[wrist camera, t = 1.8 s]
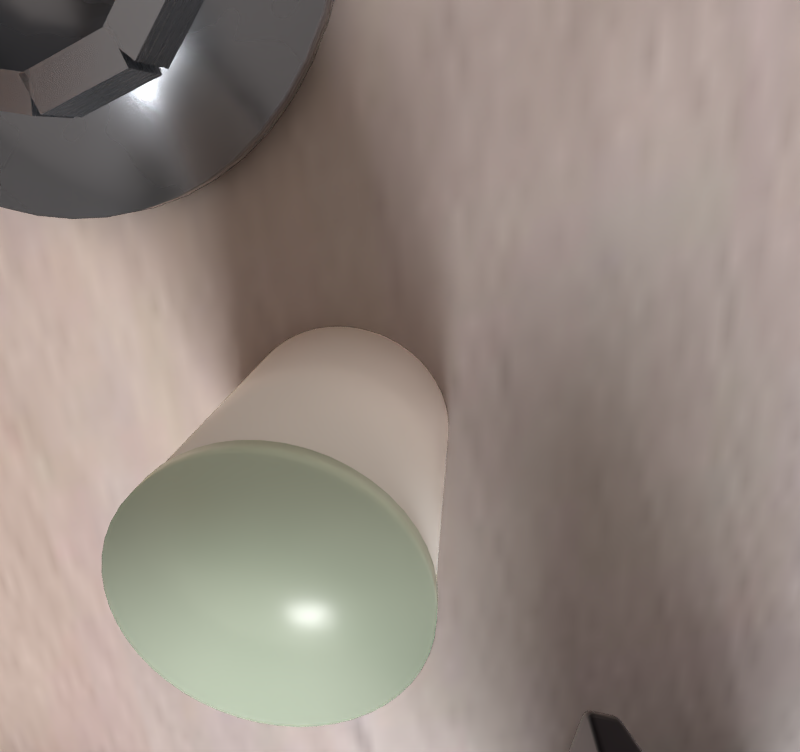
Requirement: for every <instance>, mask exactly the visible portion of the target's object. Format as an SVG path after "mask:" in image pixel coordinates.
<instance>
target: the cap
mask: <svg viewBox="0 0 800 752" xmlns="http://www.w3.org/2000/svg"><path fill="white" fill-rule="evenodd" d="M448 433H449V427H448V415H447V409H446V405H445V402H444V399H443V396H442V393H441V391H440V389H439V387H438V385H437V383H436V381H435V380H434V378H433V377H432V375H431V374H430V372H429V371H428V369H427V368H426V367H425V366H424V365H423V364H422V363H421V361H420V360H419V359H417V358H416V357H415V356H414V355H413V354H412V353H411V352H410V351H408V350H407V349H405V348H404V347H402V346H401V345H400V344H398V343H396V342H395V341H393V340H391V339H389V338H387V337H385V336H382V335H380V334H377V333H374V332H372V331H368V330H363V329H359V328H352V327H343V326H342V327H324V328H317V329H313V330H310V331H306V332H303V333H300V334H298V335H296V336H294V337H291V338H289V339H288V340H286V341H285V342H283V343H282V344H280V345H279V346H277V347H276V348H275V349H274V350H273V351H272V352H271V353H269V354H268V356H267V357H266V358H265V359H264V360H263V361H262V362H261V363H260V364H259V365H258V366H257V367H256V368H255V369H254V370H253V371H252V372H251V373H250V374H249V375H248V376H247V377H246V379H245V380H244V381H243V382H242V383H241V384H240V385H239V386H238V387H237V388H236V389H235V390H234V391H233V392H232V393H231V394H230V395H229V396H228V397H227V398H226V399H225V400H224V402H223V403H222V404H221V405H220V406H219V407H218V408H217V409H216V410H215V411H214V412H213V413H212V414H211V415H210V416H209V417H208V418H207V419H206V420H205V421H204V422H203V424H202V425H201V426H200V427H199V428H198V429H197V430H196V431H195V432H194V433H193V434H192V435H191V436H190V437H189V438H188V439H187V440H186V441H185V442H184V443H183V444H182V445H181V447H180V448H179V449H178V450H177V451H176V452H175V453H174V454H173V455H172V456H171V457H170V458H169V459H168V460H167V461H166V462H165V463H164V464H162V465H160V466H159V467H158V468H157V469H156V470H154V471H153V472H152V473H151V474H150V475H148V476H147V477H146V478H145V479H144V480H143V481H142V482H141V483H140V484H139V485H138V486H137V487H136V488H135V489H134V490H133V491H132V493H131V494H130V495H129V496H128V497H127V498H126V500H125V501H124V502H123V503H122V504H121V506H120V507H119V509H118V510H117V512H116V514H115V515H114V517H113V519H112V521H111V523H110V525H109V528H108V531H107V534H106V536H105V540H104V546H103V551H102V578H103V584H104V590H105V594H106V597H107V600H108V604H109V607H110V609H111V611H112V613H113V616H114V618H115V620H116V622H117V624H118V626H119V627H120V629H121V631H122V632H123V634H124V636H125V637H126V639H127V640H128V642H129V643H130V644H131V645H132V647H133V648H134V649H135V651H136V652H137V653H138V654H139V655H140V656H141V657H142V659H143V660H144V661H145V662H146V663H147V664H148V665H149V666H150V667H151V668H152V669H153V670H155V671H156V672H157V673H158V674H159V675H160V676H162V677H163V678H164V679H165V680H166V681H168V682H169V683H171V684H172V685H173V686H175V687H176V688H178V689H179V690H181V691H182V692H184V693H185V694H187V695H189V696H191V697H192V698H194V699H196V700H198V701H199V702H201V703H203V704H206V705H208V706H210V707H212V708H214V709H217V710H219V711H221V712H224V713H227V714H230V715H233V716H236V717H239V718H242V719H246V720H250V721H254V722H258V723H265V724H271V725H277V726H291V727H309V726H322V725H330V724H336V723H340V722H344V721H348V720H352V719H355V718H358V717H361V716H363V715H366V714H369V713H371V712H373V711H375V710H377V709H378V708H380V707H382V706H384V705H386V704H387V703H389V702H390V701H391V700H393V699H394V698H396V697H397V696H398V695H400V694H401V693H402V692H403V691H404V690H405V689H406V688H407V687H408V686H409V685H410V684H411V683H412V682H413V680H414V679H415V678H416V676H417V675H418V674H419V672H420V671H421V670H422V668H423V666H424V664H425V662H426V660H427V658H428V656H429V654H430V651H431V648H432V644H433V641H434V638H435V630H436V622H437V610H438V584H437V568H438V556H439V543H440V531H441V519H442V506H443V494H444V482H445V470H446V457H447V445H448Z"/></svg>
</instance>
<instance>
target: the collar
mask: <svg viewBox="0 0 800 752" xmlns="http://www.w3.org/2000/svg"><path fill="white" fill-rule="evenodd" d="M333 2H334V0H0V207H3V208H7V209H12V210H16V211H20V212H25V213H29V214H33V215H37V216H48V217H58V218H68V219H81V218H102V217H111V216H116V215H121V214H126V213H131V212H136V211H141V210H145V209H150V208H155V207H158V206H160V205H163V204H166V203H169V202H171V201H174V200H177V199H180V198H182V197H185V196H187V195H189V194H191V193H193V192H194V191H196V190H198V189H200V188H202V187H203V186H205V185H207V184H209V183H211V182H212V181H214V180H216V179H217V178H219V177H220V176H221V175H222V174H224V173H225V172H226V171H228V170H229V169H230V168H232V167H233V166H234V165H235V164H237V163H238V162H239V161H241V160H242V159H243V158H244V157H245V156H246V155H247V154H248V153H249V152H250V151H251V150H252V149H253V148H254V147H255V146H256V145H257V144H258V143H259V142H260V141H261V140H262V139H263V138H264V136H265V135H266V134H267V133H268V132H269V131H270V130H271V128H272V127H273V126H274V124H275V123H276V122H277V120H278V119H279V117H280V116H281V115H282V113H283V112H284V111H285V109H286V108H287V106H288V105H289V104H290V102H291V101H292V99H293V98H294V96H295V94H296V92H297V90H298V88H299V86H300V85H301V83H302V81H303V79H304V77H305V75H306V73H307V72H308V70H309V68H310V66H311V64H312V62H313V60H314V57H315V55H316V52H317V49H318V47H319V44H320V42H321V39H322V36H323V34H324V31H325V29H326V26H327V24H328V21H329V17H330V14H331V10H332V6H333Z"/></svg>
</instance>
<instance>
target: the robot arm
mask: <svg viewBox="0 0 800 752" xmlns="http://www.w3.org/2000/svg"><path fill="white" fill-rule="evenodd" d="M569 752H642V750H641V749H640V748H639V746H638V745H637V743H636V742H635V740H634V739H633V737H632V736H631V735H630V733H629V732H628V730H627V729H626V727H625V726H624V724H623V723H622V722H621V721H620V720H619V719H618V718H617V717H615V716H613V715H609V714H604V713H599V712H594V711H587V712H585V713H584V714H583V716H582V718H581V720H580V723H579V726H578V728H577V731H576V734H575V736H574V739H573V742H572V744H571V747H570V750H569Z"/></svg>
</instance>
